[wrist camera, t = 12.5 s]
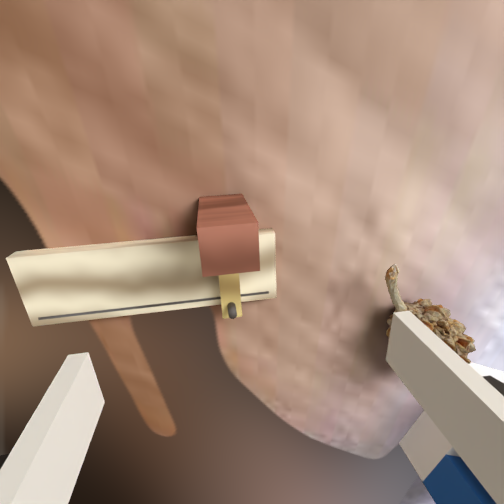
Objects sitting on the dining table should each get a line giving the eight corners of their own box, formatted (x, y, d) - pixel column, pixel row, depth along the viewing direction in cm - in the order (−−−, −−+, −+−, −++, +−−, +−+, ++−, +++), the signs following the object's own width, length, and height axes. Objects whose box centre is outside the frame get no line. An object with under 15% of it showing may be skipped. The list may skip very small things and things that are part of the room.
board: (16, 251, 35) (5, 258, 33) (271, 228, 38) (275, 233, 36) (40, 317, 38) (32, 326, 36) (273, 290, 42) (276, 298, 40)
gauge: (199, 197, 35) (196, 228, 24) (242, 193, 36) (258, 222, 25) (211, 303, 41) (213, 367, 30) (248, 298, 41) (264, 360, 30)
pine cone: (452, 327, 49) (509, 372, 40) (404, 362, 51) (447, 413, 41) (388, 233, 41) (440, 264, 32) (332, 278, 42) (366, 319, 33)
